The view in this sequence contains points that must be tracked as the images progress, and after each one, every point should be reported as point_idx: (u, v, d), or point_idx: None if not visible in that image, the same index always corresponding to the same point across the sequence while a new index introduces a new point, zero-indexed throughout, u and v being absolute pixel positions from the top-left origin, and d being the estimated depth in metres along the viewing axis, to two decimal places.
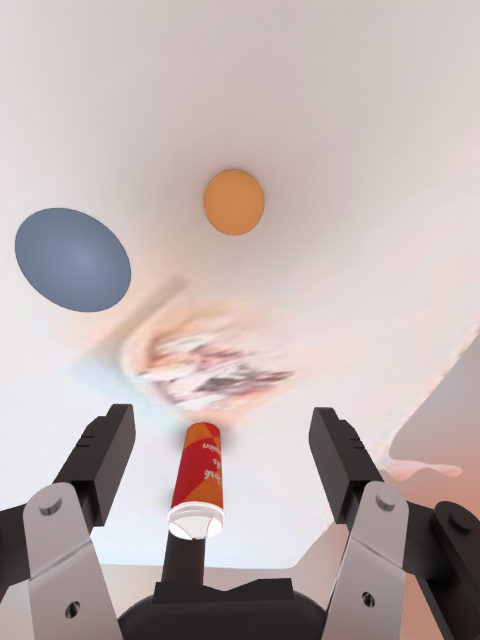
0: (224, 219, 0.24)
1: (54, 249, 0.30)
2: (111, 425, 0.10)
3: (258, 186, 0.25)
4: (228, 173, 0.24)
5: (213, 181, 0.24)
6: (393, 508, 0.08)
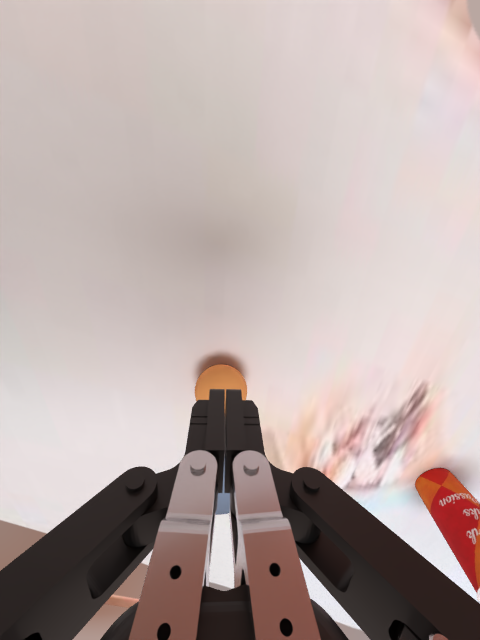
0: None
1: None
2: (217, 406, 0.12)
3: (214, 375, 0.28)
4: (196, 392, 0.29)
5: None
6: (254, 472, 0.09)
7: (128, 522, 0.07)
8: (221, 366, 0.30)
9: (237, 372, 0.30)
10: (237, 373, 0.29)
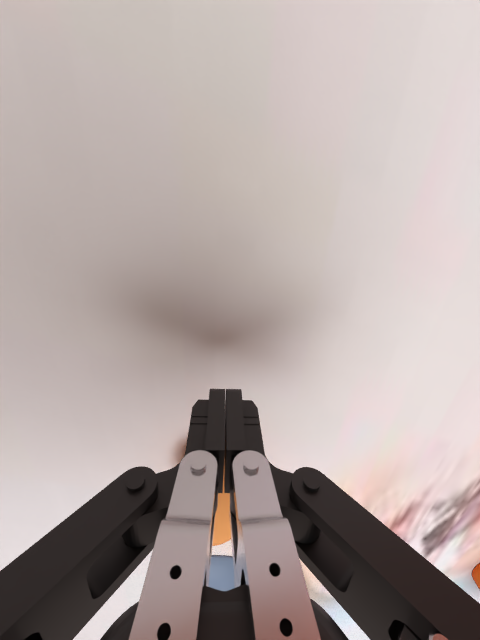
0: (219, 544, 0.18)
1: None
2: (217, 406, 0.12)
3: None
4: None
5: None
6: (254, 472, 0.09)
7: (128, 522, 0.07)
8: None
9: None
10: None
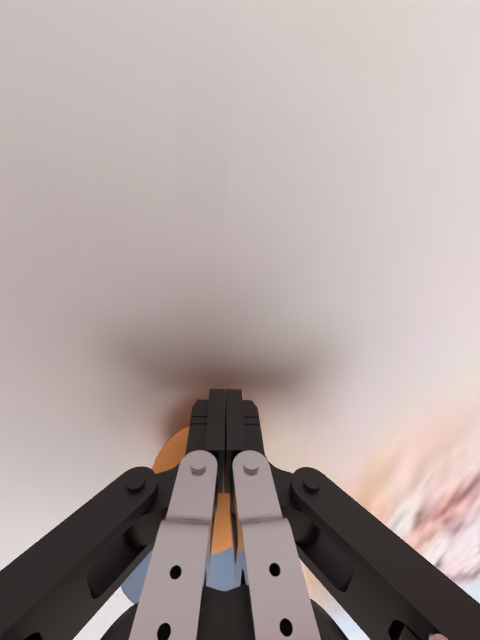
0: None
1: None
2: (217, 406, 0.12)
3: None
4: None
5: None
6: (254, 472, 0.09)
7: (128, 522, 0.07)
8: None
9: None
10: None
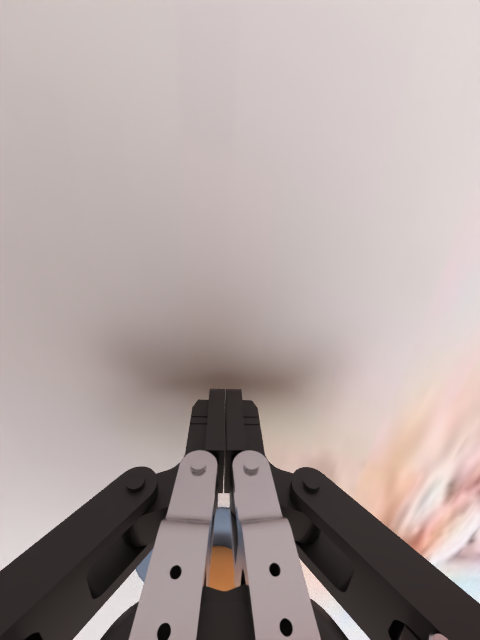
0: None
1: None
2: (217, 406, 0.12)
3: None
4: None
5: None
6: (254, 472, 0.09)
7: (128, 522, 0.07)
8: (215, 551, 0.19)
9: None
10: None
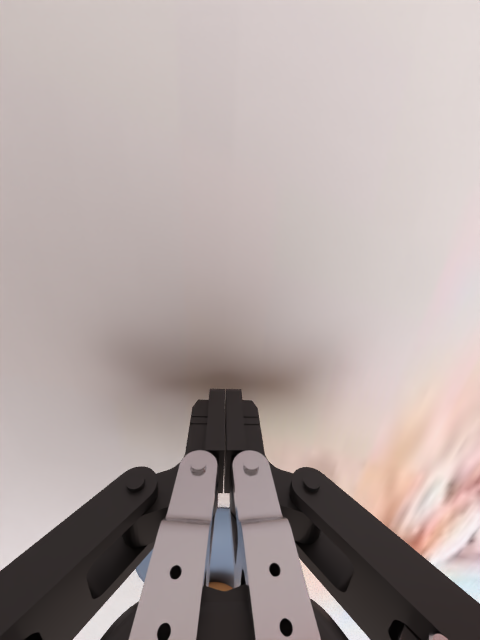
0: None
1: None
2: (217, 406, 0.12)
3: None
4: None
5: None
6: (254, 472, 0.09)
7: (128, 522, 0.07)
8: None
9: None
10: None
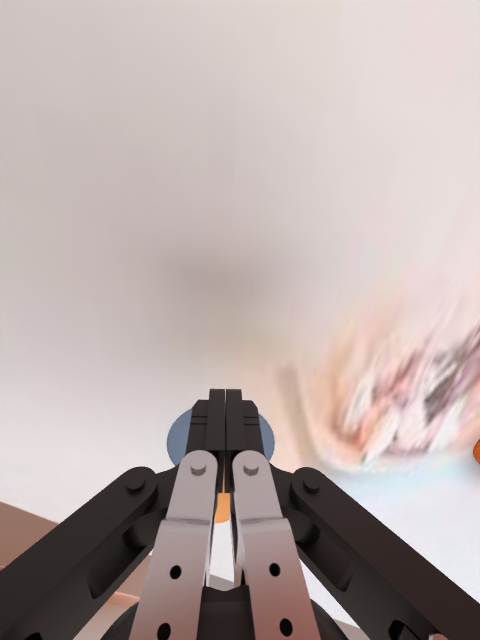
0: None
1: None
2: (217, 406, 0.12)
3: None
4: None
5: None
6: (254, 472, 0.09)
7: (128, 522, 0.07)
8: None
9: None
10: None
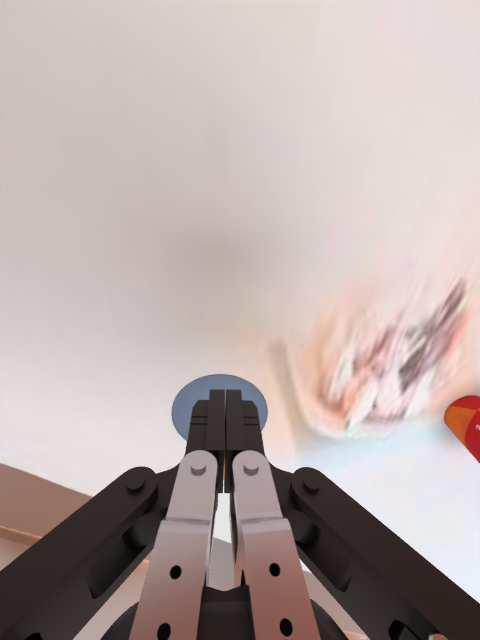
0: None
1: None
2: (217, 406, 0.12)
3: None
4: None
5: None
6: (254, 472, 0.09)
7: (128, 522, 0.07)
8: None
9: None
10: None
